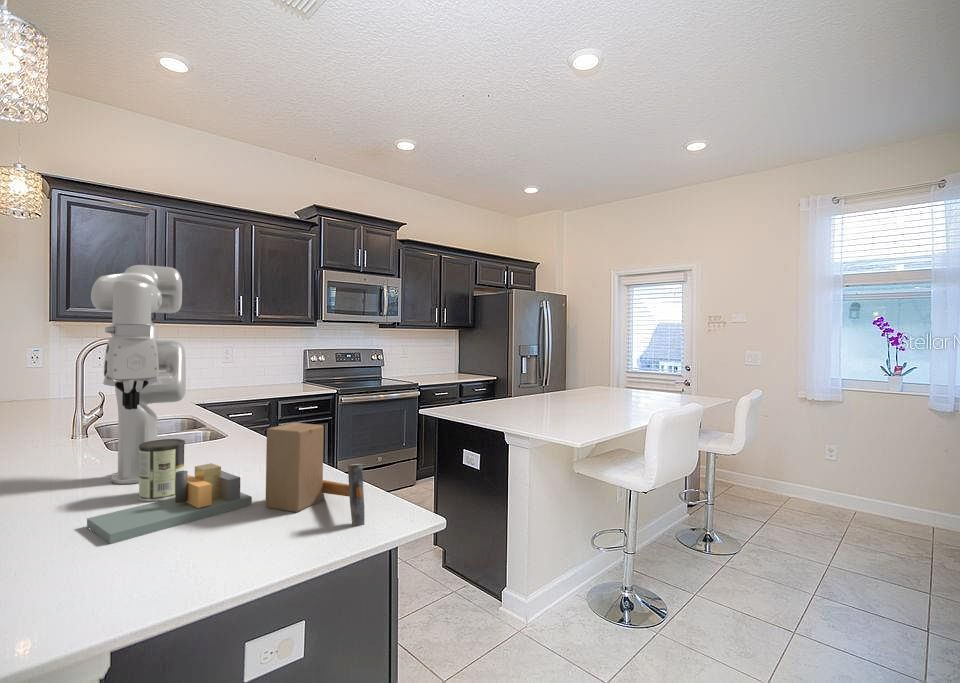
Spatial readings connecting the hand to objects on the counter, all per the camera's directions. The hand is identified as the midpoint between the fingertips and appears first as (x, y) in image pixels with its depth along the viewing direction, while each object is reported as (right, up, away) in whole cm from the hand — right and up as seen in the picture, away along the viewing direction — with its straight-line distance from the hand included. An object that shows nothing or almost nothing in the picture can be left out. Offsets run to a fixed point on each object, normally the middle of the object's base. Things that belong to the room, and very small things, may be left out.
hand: (130, 408), depth 115 cm
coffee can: (-1, -25, +13) cm, 28 cm away
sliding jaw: (+13, -23, +2) cm, 26 cm away
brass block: (+15, -23, +6) cm, 28 cm away
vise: (+11, -25, -1) cm, 28 cm away
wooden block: (+36, -26, +8) cm, 45 cm away
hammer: (+47, -26, +7) cm, 55 cm away
